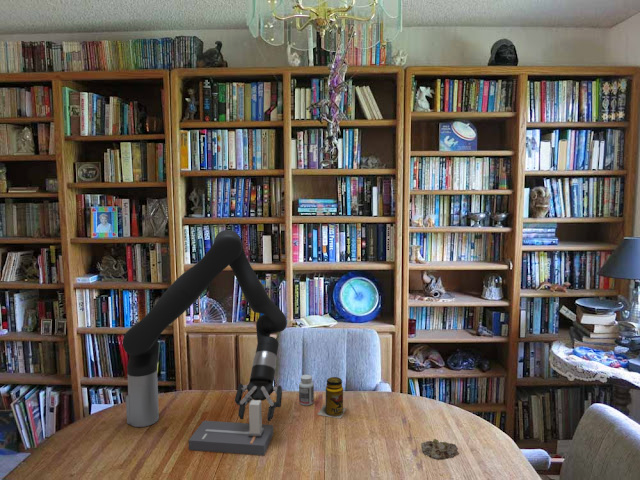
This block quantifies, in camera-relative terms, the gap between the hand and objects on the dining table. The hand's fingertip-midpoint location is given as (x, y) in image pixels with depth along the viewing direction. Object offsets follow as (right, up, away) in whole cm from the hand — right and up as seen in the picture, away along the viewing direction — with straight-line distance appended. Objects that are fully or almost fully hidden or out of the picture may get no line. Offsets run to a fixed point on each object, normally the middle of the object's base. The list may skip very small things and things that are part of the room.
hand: (255, 419), depth 140 cm
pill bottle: (+15, -5, +29) cm, 33 cm away
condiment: (+24, -6, +22) cm, 33 cm away
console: (-7, -8, +3) cm, 11 cm away
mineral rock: (+55, -9, -3) cm, 56 cm away
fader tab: (0, -5, +1) cm, 5 cm away
